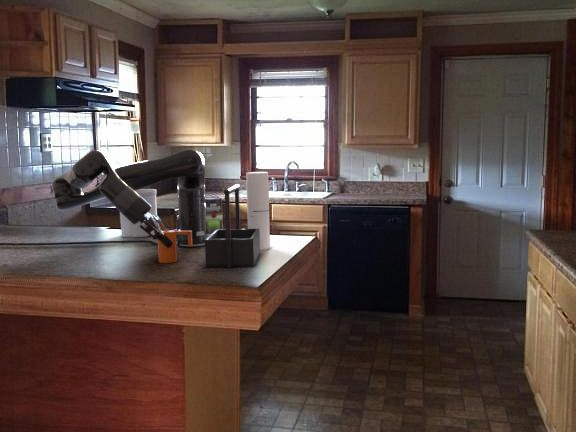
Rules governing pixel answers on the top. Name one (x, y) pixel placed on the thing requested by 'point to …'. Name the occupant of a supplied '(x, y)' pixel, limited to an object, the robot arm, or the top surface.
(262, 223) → the cylindrical container
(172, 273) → the top surface
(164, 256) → the measuring cup
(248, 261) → the basket
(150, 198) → the utensil holder
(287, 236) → the top surface
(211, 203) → the coffee can
